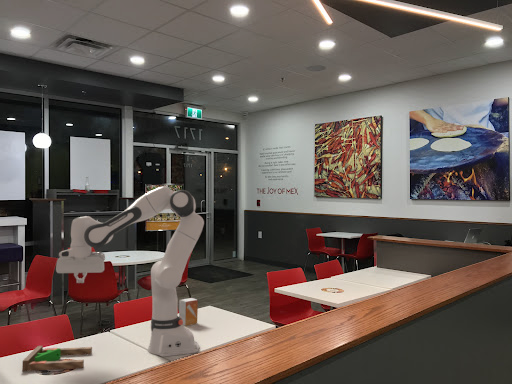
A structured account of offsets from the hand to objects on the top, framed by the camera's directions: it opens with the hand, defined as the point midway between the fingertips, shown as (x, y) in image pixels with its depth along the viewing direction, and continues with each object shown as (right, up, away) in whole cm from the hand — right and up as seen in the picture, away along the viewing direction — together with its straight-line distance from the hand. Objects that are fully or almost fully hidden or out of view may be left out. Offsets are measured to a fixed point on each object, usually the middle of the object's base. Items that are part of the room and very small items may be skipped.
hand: (80, 282), depth 188 cm
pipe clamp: (-6, -29, -19) cm, 35 cm away
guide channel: (-1, -29, -17) cm, 33 cm away
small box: (+43, -31, +38) cm, 65 cm away
